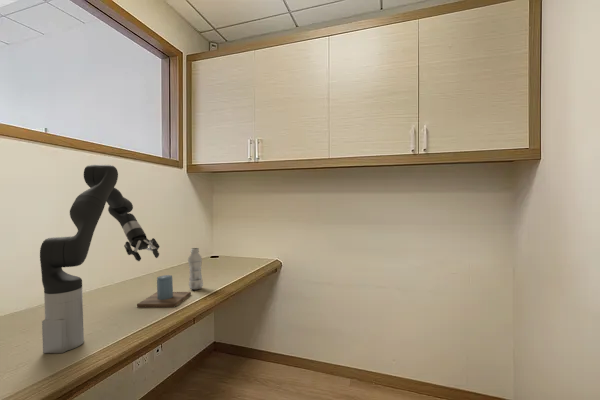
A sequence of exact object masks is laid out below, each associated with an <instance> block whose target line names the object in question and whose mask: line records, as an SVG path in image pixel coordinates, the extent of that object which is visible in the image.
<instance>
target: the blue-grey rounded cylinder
mask: <svg viewBox="0 0 600 400" xmlns="http://www.w3.org/2000/svg"><path fill="white" fill-rule="evenodd" d="M173 283H174V282H173V275H170V274H167V275H166V274H164V275H159V276H157V277H156V287H157V288H156V290H157V291H156V292H157V299H159V300H165V299H170V298H172V297H173V292H174V291H173V290H174V289H173V288H174V286H173Z"/></svg>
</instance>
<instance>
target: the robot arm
mask: <svg viewBox="0 0 600 400" xmlns="http://www.w3.org/2000/svg"><path fill="white" fill-rule="evenodd" d="M83 179H84V182H85V184H86V185H87V186H88V187H89V188H88V189H86V190H85V191H82V192H81V193H79V195H78V196H77V197H76V198H75V200H74V201H73V202H72V205H71V207H70V209H69V216H70V219H71V221H72V223H73V224H74V226H75V227H76V229H77V232H76V233H75V234H74V235H73V236H61V237H60V236H57V237H56V236H55V237H48V238H45V239H44V240H43V242H41V245H40V248H39V261H40V263H39V264H40V272H41V283H42V286H43V296H44V297H43V298H44V319H43V320H41V329H42V331H41V332H42V354H63V353H65V352H67V351H70V350H73V349H76V348H78V347H80V346H81V345H82V344H83V343H84V342H85V337H84V334H85V333H84V332H85V331H84V330H85V329H84V304H83V303H84V302H83V301H84V299H83V280H82V278H81V277H80V276H76V275H73V274H70V273H68V272H66V271H64V269H63V268H72V267H78V266H81V265H83V263H84V262H85V260H86V259H87V257H88V253H89V250H90V246H91V243H92V239H93V236H94V233H95V230H96V228H97V225H98V223H99V221H100V219H101V216H102V214H103V212H104V210H105V207H106V203H107V205H108V208H107V211H108V213H109V214H110V215H111V216H112V217H113V218H114V219H115V220H116V221H117V222H118V223H119V224H120V227H121V228H122V229H123V232H124V235H125V237H126V239H127V241H126V242H125V244H124V246H123V247H124V249H125V252H126V253H127V255H128V256H131V255H132V256H133V258H134V259H135V260H136V261H137V262H140V261H141V260H142V257H141V255H140V253H139V252H138V251H142V250H147V251H150V252H151V253H152V254H153V256H154V257H155V259H158V258H159V256H160V252H159V251H158V250H159V248H160V245H159V243H158V241H156V238H155V237H154V238H151V239H148V237H147V234H146V233H145V231H144V229H143V228H142V225H141V224H140V223H139V222H138V220H137V218H136V217H135V215H134V214H133V213H131V212H132V211H133V209H134V206H133V203H132V201H130V200H129V199H128V198H126V197H124V196H123V194H122V193H121V191H120V190H119V189H117V188H116V187H115V186H116V184H117V182H118V179H119V173H118V169H117V168H116V166H114V165H111V164H89V165H86V166H85V167H84V170H83ZM132 247H133V248H134V249H133V248H132Z"/></svg>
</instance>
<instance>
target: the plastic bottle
mask: <svg viewBox="0 0 600 400" xmlns="http://www.w3.org/2000/svg"><path fill="white" fill-rule="evenodd" d="M190 253H191V254H190V255H189V257H188V259H187V263H188V266H189V267H188V268H189V281H188V287H189V289H190V290H193V291H194V290H195V291H196V290H200V289H202V288H203V286H204V282H203V277H202V276H203V275H202V262H203V257H202V255H201V254H200V248H199V247H192V248H190Z"/></svg>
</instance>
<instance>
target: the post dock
mask: <svg viewBox="0 0 600 400" xmlns="http://www.w3.org/2000/svg"><path fill="white" fill-rule="evenodd" d="M191 293H192V291H173V297H172V298H170V299H165V300H159V299H157V291H156V292H155V293H153V294H151V295H150V296H148V297H146V298H145V299H143V300H141V301H140V302H137V303H136V308H137V309H140V308H175V307H174V306H176V307H177V306H179V305H180V304H181V303H182V302H184V301H185V300H186V299H188V298H189V297H190V296H191V295H192V294H191ZM183 300H184V301H183ZM179 303H180V304H179ZM178 304H179V305H178Z"/></svg>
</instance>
